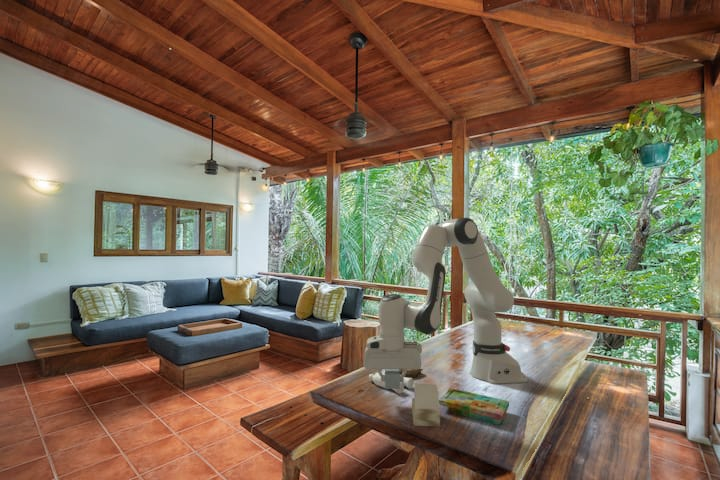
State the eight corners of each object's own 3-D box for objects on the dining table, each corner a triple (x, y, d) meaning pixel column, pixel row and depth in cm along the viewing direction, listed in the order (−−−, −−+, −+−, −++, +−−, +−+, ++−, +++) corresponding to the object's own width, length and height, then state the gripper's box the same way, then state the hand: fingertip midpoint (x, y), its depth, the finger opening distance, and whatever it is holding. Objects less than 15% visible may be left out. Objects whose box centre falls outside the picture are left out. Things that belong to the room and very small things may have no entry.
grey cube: (399, 383, 123) (398, 368, 123) (399, 388, 118) (399, 374, 118) (385, 382, 124) (384, 368, 124) (385, 388, 119) (385, 374, 119)
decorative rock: (382, 373, 152) (410, 383, 141) (382, 363, 151) (410, 374, 141) (398, 365, 160) (426, 375, 149) (398, 356, 160) (426, 365, 149)
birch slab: (436, 414, 114) (436, 399, 114) (439, 427, 106) (440, 410, 106) (411, 413, 114) (412, 398, 114) (413, 425, 106) (413, 409, 107)
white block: (436, 399, 113) (436, 384, 113) (438, 409, 106) (438, 393, 106) (414, 398, 114) (414, 383, 114) (415, 408, 107) (415, 392, 107)
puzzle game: (502, 413, 105) (439, 397, 116) (502, 428, 105) (438, 411, 116) (509, 399, 115) (450, 385, 126) (509, 413, 115) (450, 398, 126)
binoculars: (397, 396, 128) (397, 383, 128) (366, 383, 139) (366, 371, 139) (414, 388, 135) (414, 375, 135) (383, 376, 147) (383, 365, 147)
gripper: (420, 339, 124) (421, 377, 124) (363, 338, 125) (364, 377, 125) (422, 344, 117) (423, 385, 117) (362, 343, 119) (363, 384, 119)
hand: (392, 381), depth 121 cm, fingers closed on grey cube, 5 cm apart
